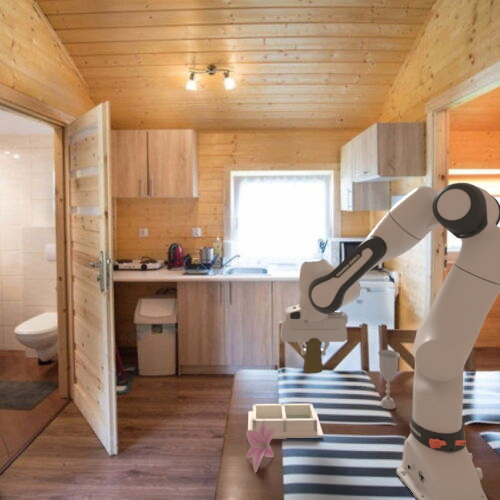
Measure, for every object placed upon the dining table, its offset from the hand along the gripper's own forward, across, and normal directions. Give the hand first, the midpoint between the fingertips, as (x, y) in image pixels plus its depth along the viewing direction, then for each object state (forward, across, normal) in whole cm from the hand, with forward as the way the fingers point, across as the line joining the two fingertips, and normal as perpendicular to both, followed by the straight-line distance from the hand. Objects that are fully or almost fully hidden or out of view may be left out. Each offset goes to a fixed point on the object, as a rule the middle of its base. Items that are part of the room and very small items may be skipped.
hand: (313, 354), depth 123 cm
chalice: (+21, -26, -9) cm, 35 cm away
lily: (+22, +16, +20) cm, 34 cm away
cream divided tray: (+21, +9, +3) cm, 24 cm away
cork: (+5, 0, 0) cm, 5 cm away
